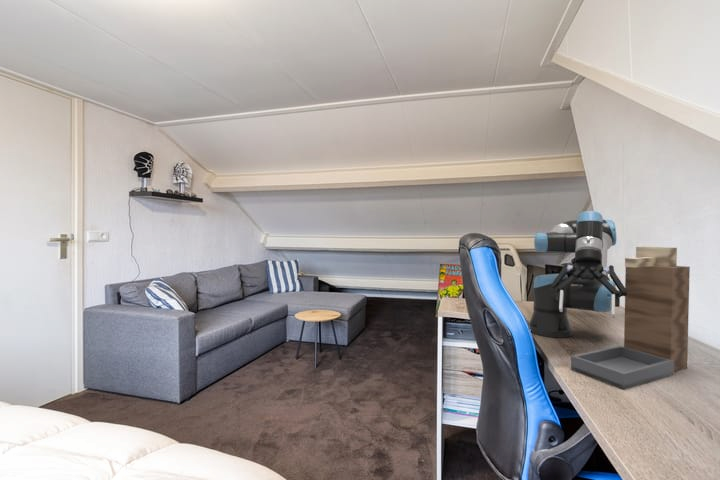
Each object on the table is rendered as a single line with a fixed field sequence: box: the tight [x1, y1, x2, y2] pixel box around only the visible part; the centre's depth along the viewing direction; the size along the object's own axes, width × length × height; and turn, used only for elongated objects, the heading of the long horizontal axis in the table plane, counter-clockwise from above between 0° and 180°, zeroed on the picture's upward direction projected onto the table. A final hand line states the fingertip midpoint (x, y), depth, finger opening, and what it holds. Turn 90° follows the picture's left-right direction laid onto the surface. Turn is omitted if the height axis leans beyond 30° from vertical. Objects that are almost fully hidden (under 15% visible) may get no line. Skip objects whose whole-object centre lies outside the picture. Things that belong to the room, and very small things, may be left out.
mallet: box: [624, 246, 678, 268], centre depth 102 cm, size 16×8×6 cm, turn 114°
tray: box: [570, 345, 675, 391], centre depth 99 cm, size 23×14×4 cm, turn 114°
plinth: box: [623, 265, 691, 373], centre depth 105 cm, size 9×12×30 cm
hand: (586, 313), depth 107 cm, fingers open, 13 cm apart
